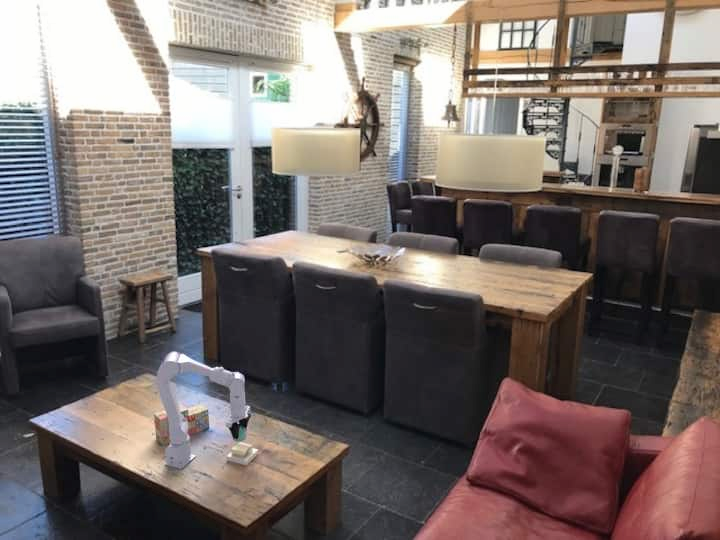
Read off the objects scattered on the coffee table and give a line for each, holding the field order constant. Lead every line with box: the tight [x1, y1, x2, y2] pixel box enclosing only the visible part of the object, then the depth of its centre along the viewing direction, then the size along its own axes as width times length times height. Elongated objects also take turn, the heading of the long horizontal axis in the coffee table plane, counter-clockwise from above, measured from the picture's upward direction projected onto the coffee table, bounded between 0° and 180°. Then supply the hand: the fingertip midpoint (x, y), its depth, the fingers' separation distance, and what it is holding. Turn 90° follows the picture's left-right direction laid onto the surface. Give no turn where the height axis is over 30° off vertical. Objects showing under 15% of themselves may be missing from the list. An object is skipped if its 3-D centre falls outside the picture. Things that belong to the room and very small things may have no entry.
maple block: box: [230, 441, 254, 458], centre depth 237 cm, size 6×6×2 cm
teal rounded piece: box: [232, 426, 247, 443], centre depth 236 cm, size 5×5×4 cm
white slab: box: [226, 447, 259, 466], centre depth 238 cm, size 9×9×2 cm
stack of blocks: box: [153, 404, 210, 446], centre depth 253 cm, size 21×6×12 cm, turn 131°
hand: (239, 435), depth 236 cm, fingers closed on teal rounded piece, 5 cm apart
